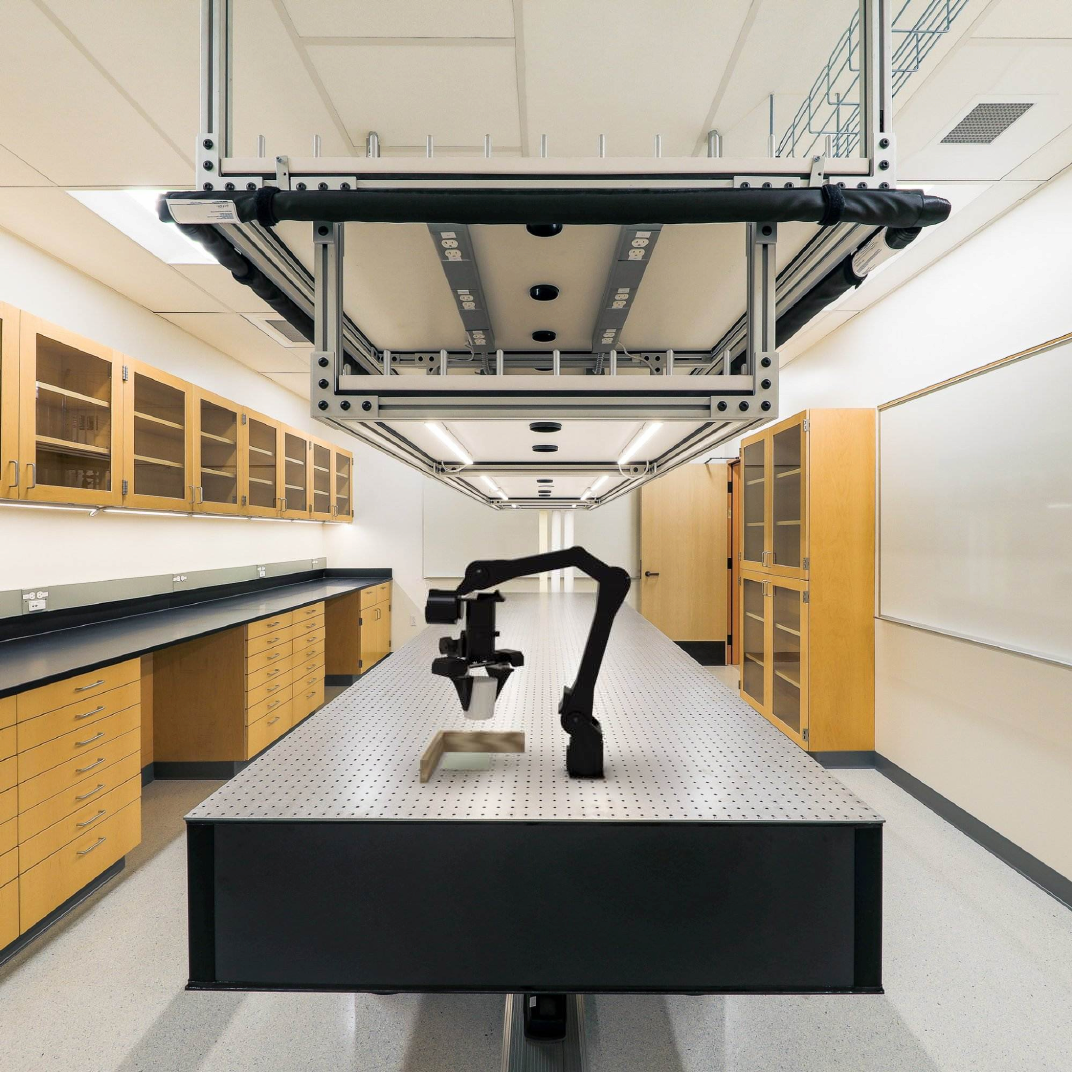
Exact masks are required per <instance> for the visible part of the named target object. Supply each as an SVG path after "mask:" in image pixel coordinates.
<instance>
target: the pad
mask: <svg viewBox="0 0 1072 1072" xmlns="http://www.w3.org/2000/svg"><path fill="white" fill-rule="evenodd" d="M493 753H494V752H447V755H446V757H445V759H444V761H443V762H442V765H441V766H440V770H441V771H481V772H482V771H487V772H488V771H489V768H490V764H491V761H492V758H493Z"/></svg>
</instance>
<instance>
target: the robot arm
mask: <svg viewBox="0 0 1072 1072" xmlns="http://www.w3.org/2000/svg"><path fill="white" fill-rule="evenodd" d="M572 567H574V568H575V567H576V568H577V569H578V570H580V571H582V572H583V573H584V574H586V575H588V576H589V577H590V578H592V579H594V580H595V582H597V587H596V598H595V609H594V613H593V618H592V620H591V621H592V622H591V624H590V628H589V631H588V635H587V639H586V641H585V646H584V649H583V651H582V657H581V660H580V663H579V666H578V670H577V674H576V676H575V679H574V681H573V683H572V685H571V687H569V686H567V685H563V691H562V698H561V700H560V702H559V703H558V705H557V708H558V709H557V715H560V719H559V720H560V726H561V728H562V730H563V731H564V732H566V734H568V735H569V737H568V738H569V740H568V741H569V742H568V744H567V745H566V746H565V770H566V772H567V773H568V778H569V779H588V780H589V779H593V780H594V779H595V780H596V779H597V780H601V779H602V780H603V779H605V778H606V776H605V771H604V745H605V743H604V735H603V731H602V730H603V728H602V726H601V722H600V721H599V720H598V719H597V718H596V716H594V715H593V711H594V698H595V688H596V684H597V680H598V676H599V674H600V673H599V672H600V669H601V666H602V663H603V659H604V655H605V653H606V652H605V651H606V649H607V644H608V641H609V638H610V635H611V631H612V627H613V624H614V620H615V617H616V616H617V614H618V612H619V611H620V609H621V607H622V605H623V603H624V601H625V600H626V596H627V594H628V593H629V591H630V588H631V587H632V578H631V576H630V574H629V573H628V571H626V569H624V568H622V567H621V566H615V565H608V564H607V563H605V562H603V561H602V560H601V559H600V558H597V557H596V556H594V555H593V554H592V553H590V552H589V551H587V550H586V549H585V548H584V547H583V546H580V545H572V546H571V547H569V548H567V547H566V548H563V549H558V550H552V551H547V552H544V553H538V554H532V555H528V556H523V557H517V558H511V559H510V558H507V559H503V558H501V559H475V560H473V561H471V562H469V564H468V565H467V567H466V568H465V571H464V578H463V580H462V581H461V582H460V583H459V585H457V586H456V589H442V588H441V589H439V588H429V589H428V595H427V598H426V603H425V604H426V606H425V607H424V618H425V619H424V620H425V623H426V625H446V626H447V625H448V626H449V625H450V626H451V625H452V626H454V625H455V626H457V625H458V622H459V620H463V619H464V614H465V629H461V631H460V634H459V637H458V638H456V639H453V638H452V636H451V635H450V636H443V637H441V638H439V640H438V641H439V642H438V649H439V653H440V655H441V657H436V658H434V659H433V661H432V663H431V671H430V672H431V674H433V675H436V676H440V677H444V678H449V679H450V681H451V682H452V683H453V685H454V688H455V690H456V693H457V696H458V699H459V702H460V705H461V708H462V711H463V712H464V711H468V709H469V706H470V701H471V694H472V688H473V682H474V676H475V675H471V674H470V670H471V669H472V670H473V669H478V668H482V667H484V669H485V671H486V674H487V676H488V677H494V678H496V679H498V681H497V690H496V699H495V704H496V702H497V700H498V698H499V696H500V694H501V692H502V690H503V688H504V686H505V685H506V682H507V681H508V679H509V678H510V676H511V675H512V673H514V672H515V668H519V667H524V666H525V656H524V654H523V652H522V651H521V650H517V649H516V650H515V649H511V648H502V649H501V648H500V649H499V648H498V649H496V638H498V637H501V631H500V630H496V629H497V627H496V626H497V625H496V620H497V619H496V617H497V616H496V615H497V613H496V612H497V603H505V602H506V601H507V597H505V596H504V595H503V594H502V592H501V590H500V589H498V588H497V589H496V590H494V592H478V593H477V595H476V597H465V596H467V595H469V594H472V593H474V592H475V591H485V590H489V589H490V588H492V587H496V586H498V585H500V584H502V583H506V582H509V581H511V580H513V579H516V578H520V577H521V578H522V577H525V576H531V575H536V574H541V573H547V572H550V571H551V572H553V571H556V570H561V569H562V570H563V569H566V568H572ZM462 596H464V597H462ZM443 655H446V656H443ZM442 656H443V657H442ZM510 665H511V666H510Z"/></svg>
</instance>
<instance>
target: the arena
mask: <svg viewBox="0 0 1072 1072" xmlns="http://www.w3.org/2000/svg"><path fill="white" fill-rule="evenodd" d="M525 750H526V732H525V731H518V730H517V731H515V730H513V731H508V730H507V731H505V730H503V731H501V730H500V731H499V730H498V731H497V730H450V729H449V730H442V729H440V730H438V731H437V733H436V734H435V736H434V738H433V739H432V741H431V742H430V744H429V746H428V747H427V749H426V750H425V752H424V753H423V755H422V757H421V758H420V760H419V765H420V766H419V783H420V784H424V783H425V784H427V783H428V782H429V780H430V777H431V775H432V774H433V772H434V770H435V768H436V766H437V764H438V763H439V760H440V759H441V757H442V756H443V753H444V752H445V753H446V752H447V753H505V754H506V753H508V754H509V753H510V754H514V753H515V754H518V753H519V754H525V753H526V752H525Z"/></svg>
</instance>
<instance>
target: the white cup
mask: <svg viewBox="0 0 1072 1072" xmlns="http://www.w3.org/2000/svg"><path fill="white" fill-rule="evenodd" d="M473 676H474V682H473V688H472V694H471V701H470V706H469V709H468V711H463V718H464V719H467V720H470V721H471V720H472V721H487V720H490V719H492V718H494V716H495V707H496V703H495V699H496V690H497V681H498V679H496V678H494V677H489V676H488V675H487V676H486V675H478V676H477V675H473Z"/></svg>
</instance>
